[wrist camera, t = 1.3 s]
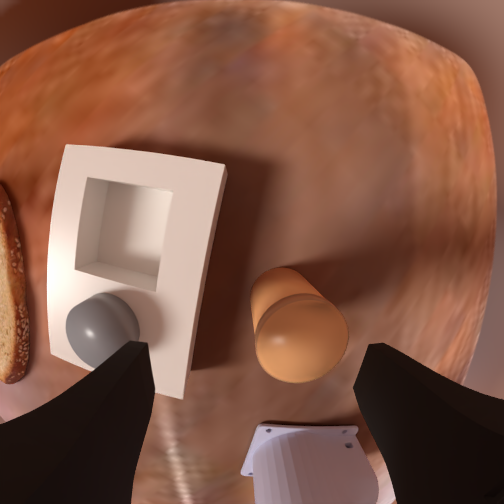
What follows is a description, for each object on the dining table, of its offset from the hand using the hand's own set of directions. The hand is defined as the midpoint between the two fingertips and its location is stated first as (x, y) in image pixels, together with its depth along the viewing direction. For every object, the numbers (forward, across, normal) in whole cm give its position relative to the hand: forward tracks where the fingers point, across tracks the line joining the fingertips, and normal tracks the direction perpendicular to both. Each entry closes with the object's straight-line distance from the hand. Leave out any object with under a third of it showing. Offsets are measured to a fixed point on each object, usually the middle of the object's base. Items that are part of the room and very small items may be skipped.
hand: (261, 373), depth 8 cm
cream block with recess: (+10, +7, 0) cm, 13 cm away
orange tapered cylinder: (+10, -2, +2) cm, 10 cm away
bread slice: (+11, +25, +5) cm, 28 cm away
